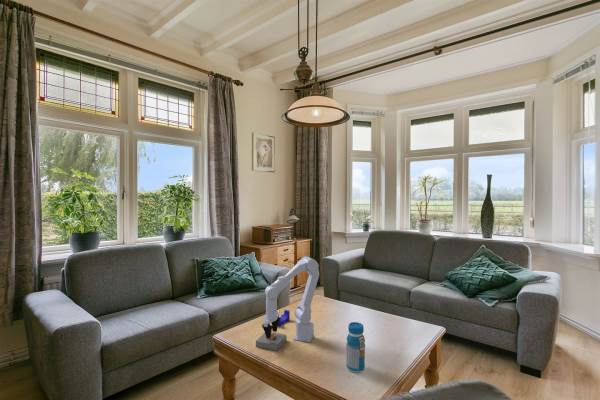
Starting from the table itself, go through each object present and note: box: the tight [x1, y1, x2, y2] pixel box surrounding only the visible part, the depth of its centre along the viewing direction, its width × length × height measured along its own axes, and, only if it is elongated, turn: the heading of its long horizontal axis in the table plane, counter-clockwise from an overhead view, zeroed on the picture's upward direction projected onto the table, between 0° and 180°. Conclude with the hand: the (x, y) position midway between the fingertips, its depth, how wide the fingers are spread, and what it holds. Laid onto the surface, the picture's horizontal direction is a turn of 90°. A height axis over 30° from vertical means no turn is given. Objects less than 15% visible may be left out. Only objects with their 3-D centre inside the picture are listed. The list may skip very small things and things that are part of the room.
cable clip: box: [278, 309, 291, 327], centre depth 190 cm, size 12×4×6 cm, turn 145°
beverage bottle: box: [345, 321, 366, 374], centre depth 142 cm, size 8×8×20 cm
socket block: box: [255, 332, 287, 352], centre depth 165 cm, size 12×12×3 cm
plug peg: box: [267, 330, 275, 340], centre depth 165 cm, size 3×3×6 cm
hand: (271, 334), depth 164 cm, fingers open, 7 cm apart
